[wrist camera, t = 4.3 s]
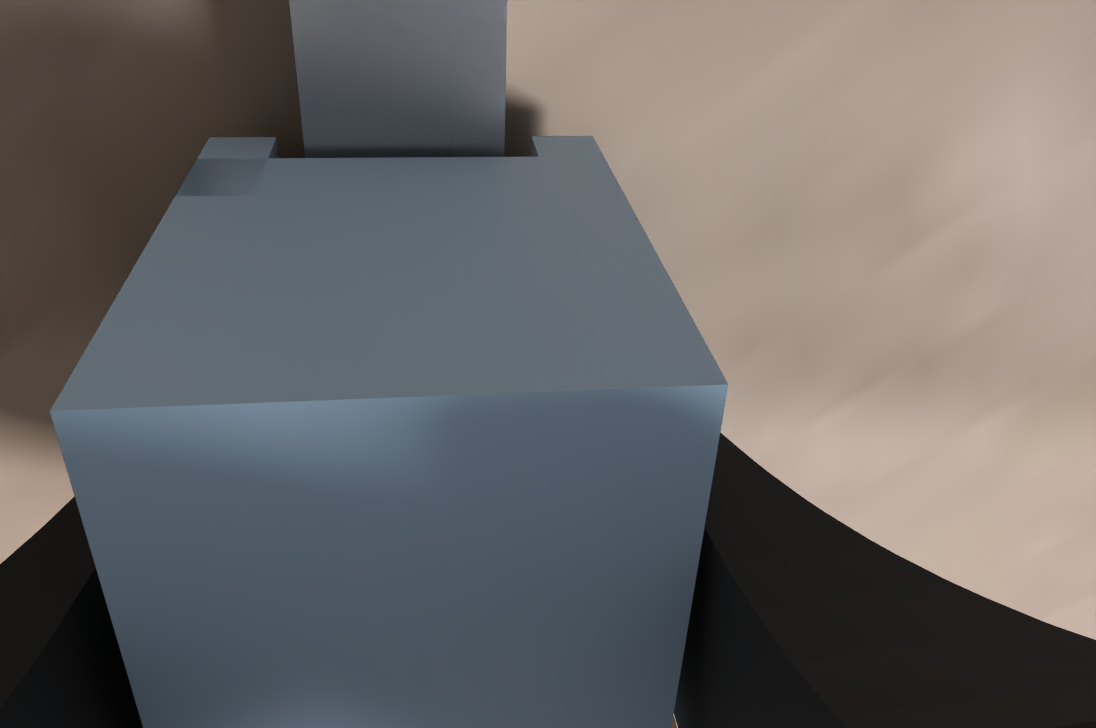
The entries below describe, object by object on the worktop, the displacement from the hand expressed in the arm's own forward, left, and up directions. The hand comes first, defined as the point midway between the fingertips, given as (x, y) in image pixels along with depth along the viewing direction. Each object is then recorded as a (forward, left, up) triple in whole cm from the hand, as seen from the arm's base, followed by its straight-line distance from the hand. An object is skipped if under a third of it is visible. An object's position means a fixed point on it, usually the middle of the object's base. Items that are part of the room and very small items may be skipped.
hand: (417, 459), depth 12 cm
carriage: (0, -1, -3) cm, 3 cm away
